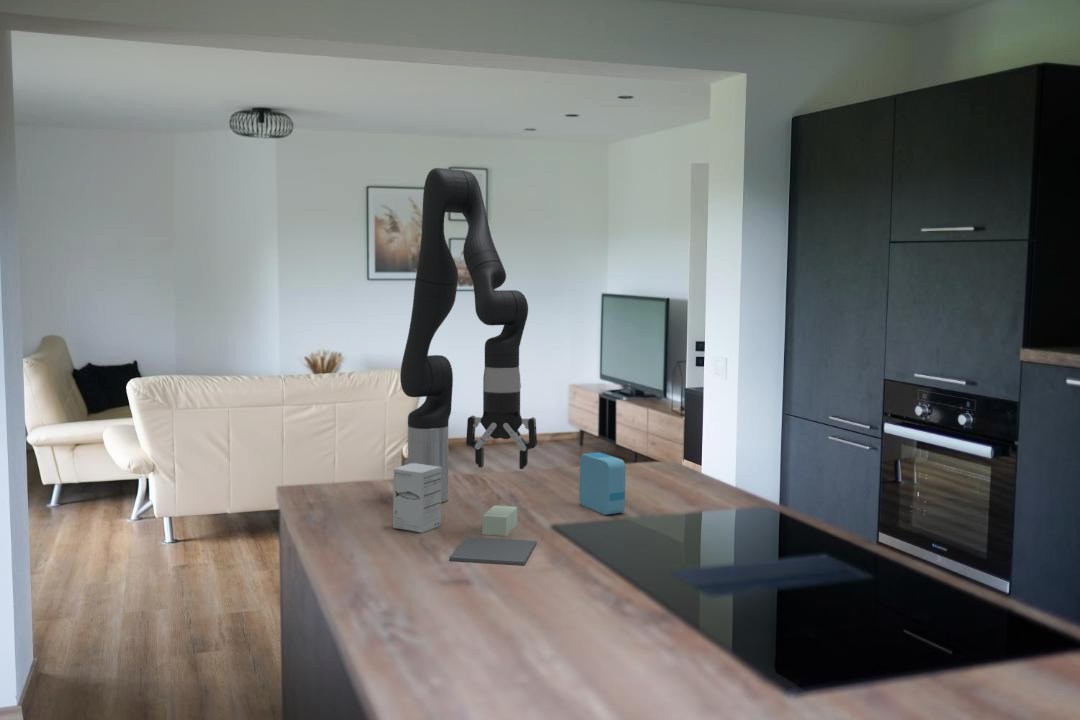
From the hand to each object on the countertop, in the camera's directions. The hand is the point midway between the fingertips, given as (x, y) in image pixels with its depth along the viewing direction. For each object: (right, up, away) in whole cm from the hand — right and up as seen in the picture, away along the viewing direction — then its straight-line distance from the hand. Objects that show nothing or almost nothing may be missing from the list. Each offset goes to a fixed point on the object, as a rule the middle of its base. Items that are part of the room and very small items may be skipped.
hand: (501, 467), depth 202 cm
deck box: (0, -13, +1) cm, 13 cm away
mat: (-1, -14, -15) cm, 21 cm away
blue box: (+22, -12, +19) cm, 31 cm away
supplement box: (-17, -13, +2) cm, 22 cm away
